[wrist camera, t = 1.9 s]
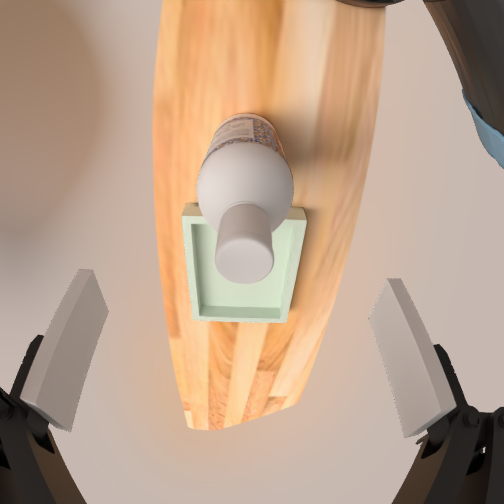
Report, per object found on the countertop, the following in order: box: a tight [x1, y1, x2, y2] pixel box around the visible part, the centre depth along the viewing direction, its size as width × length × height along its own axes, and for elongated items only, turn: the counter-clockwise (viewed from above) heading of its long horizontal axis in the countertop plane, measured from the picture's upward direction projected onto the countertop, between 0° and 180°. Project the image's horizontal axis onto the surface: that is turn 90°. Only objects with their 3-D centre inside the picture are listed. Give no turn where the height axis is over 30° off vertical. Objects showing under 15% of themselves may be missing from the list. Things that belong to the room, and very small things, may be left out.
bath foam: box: [197, 113, 294, 284], centre depth 22 cm, size 7×7×20 cm
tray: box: [182, 203, 307, 323], centre depth 39 cm, size 18×14×3 cm
